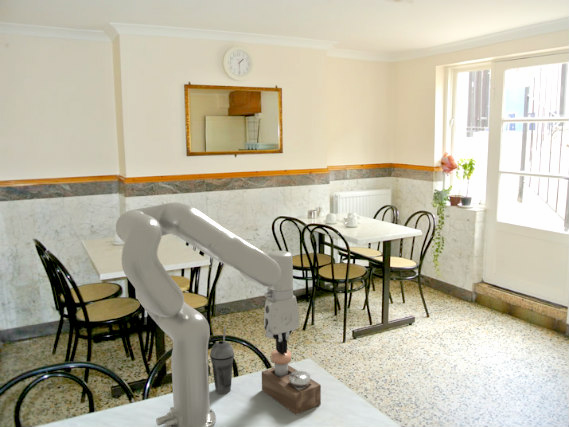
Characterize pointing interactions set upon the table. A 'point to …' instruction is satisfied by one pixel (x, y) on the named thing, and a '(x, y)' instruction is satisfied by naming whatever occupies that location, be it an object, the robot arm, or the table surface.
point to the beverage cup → (222, 365)
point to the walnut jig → (291, 391)
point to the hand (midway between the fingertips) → (281, 352)
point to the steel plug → (299, 379)
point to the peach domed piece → (281, 362)
